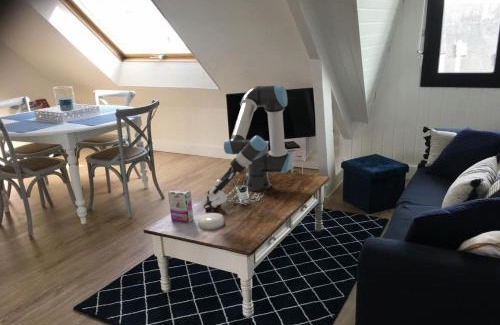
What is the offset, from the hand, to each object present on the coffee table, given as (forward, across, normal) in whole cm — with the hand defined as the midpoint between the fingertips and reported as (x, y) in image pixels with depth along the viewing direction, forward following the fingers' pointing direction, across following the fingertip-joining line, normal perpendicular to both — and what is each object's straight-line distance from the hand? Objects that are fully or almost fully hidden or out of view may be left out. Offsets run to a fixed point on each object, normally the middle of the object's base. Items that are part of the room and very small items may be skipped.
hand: (210, 195), depth 202 cm
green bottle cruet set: (+13, +17, -10) cm, 24 cm away
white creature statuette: (0, 0, -6) cm, 6 cm away
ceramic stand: (+12, +1, -10) cm, 16 cm away
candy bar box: (+23, +6, +1) cm, 24 cm away
